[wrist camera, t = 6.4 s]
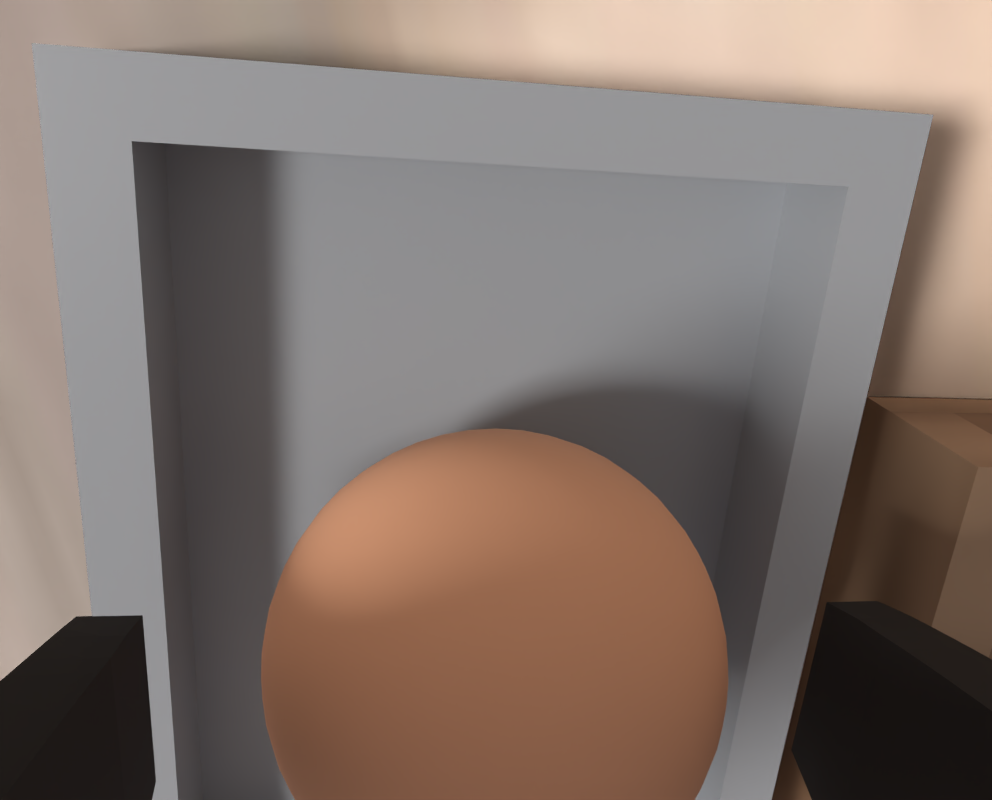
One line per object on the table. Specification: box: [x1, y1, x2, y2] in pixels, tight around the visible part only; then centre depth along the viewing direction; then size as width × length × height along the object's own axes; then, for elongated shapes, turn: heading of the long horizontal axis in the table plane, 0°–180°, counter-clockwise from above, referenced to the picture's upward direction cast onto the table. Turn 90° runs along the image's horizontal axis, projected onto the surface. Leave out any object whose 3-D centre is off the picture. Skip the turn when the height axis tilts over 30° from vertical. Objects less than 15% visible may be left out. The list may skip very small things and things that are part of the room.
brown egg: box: [261, 428, 728, 800], centre depth 9 cm, size 5×5×5 cm
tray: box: [32, 43, 933, 800], centre depth 11 cm, size 12×9×2 cm
